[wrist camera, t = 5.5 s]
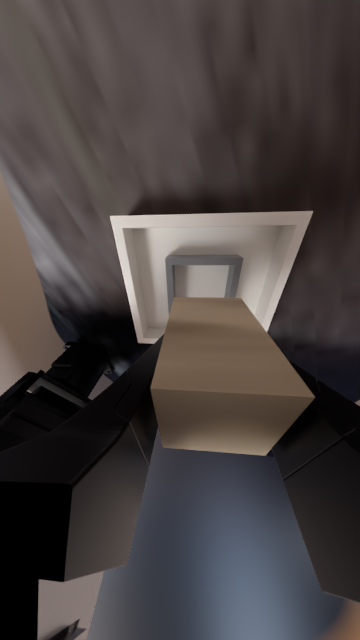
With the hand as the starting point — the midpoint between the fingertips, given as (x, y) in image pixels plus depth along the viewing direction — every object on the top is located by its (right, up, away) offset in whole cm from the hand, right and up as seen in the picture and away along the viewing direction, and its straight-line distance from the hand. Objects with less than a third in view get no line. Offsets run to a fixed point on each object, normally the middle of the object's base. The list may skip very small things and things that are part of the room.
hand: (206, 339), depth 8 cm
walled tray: (+1, +5, +8) cm, 10 cm away
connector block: (0, +1, +1) cm, 2 cm away
